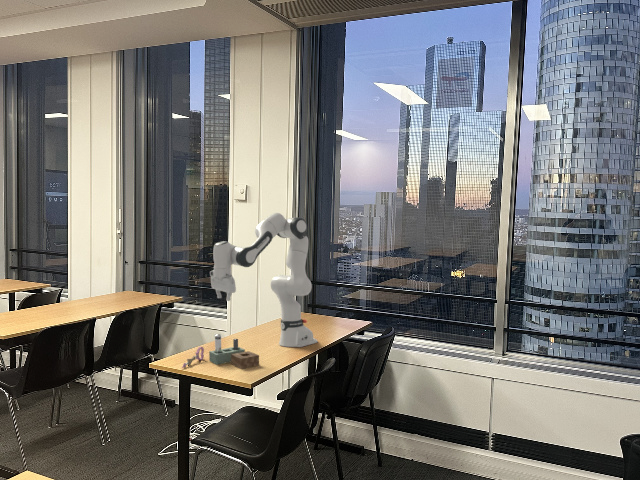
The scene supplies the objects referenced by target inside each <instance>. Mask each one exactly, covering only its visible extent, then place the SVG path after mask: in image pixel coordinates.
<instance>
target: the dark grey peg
mask: <svg viewBox="0 0 640 480" xmlns="http://www.w3.org/2000/svg"><path fill="white" fill-rule="evenodd" d="M232 340H233V342H232V343H233V346H232V347H233V350H238V347H239V339H238V338H233V339H232Z"/></svg>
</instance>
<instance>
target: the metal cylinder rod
mask: <svg viewBox="0 0 640 480" xmlns="http://www.w3.org/2000/svg"><path fill="white" fill-rule="evenodd" d="M221 349H222V334H221V333H215V334H214V351H215V353H216V354H217V353H221Z"/></svg>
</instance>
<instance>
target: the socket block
mask: <svg viewBox="0 0 640 480" xmlns="http://www.w3.org/2000/svg"><path fill="white" fill-rule="evenodd" d="M230 363H231V364H230V365H232V366H234V367H236V368H237V369H241V370H244V369H249V368H253V367H256V366H260V355H259V354H256V353H254V352H252V351H249V350H248V351H245V352H241V353H236V354H231V362H230Z"/></svg>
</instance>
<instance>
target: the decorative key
mask: <svg viewBox="0 0 640 480" xmlns="http://www.w3.org/2000/svg"><path fill="white" fill-rule="evenodd" d="M200 351H201V352H200ZM204 352H205V349H204V347H203V346H199V347H198V348H197V349H196V351H195V355H193V356H192V357H191V358H187V359H186V361H187V362H183V364H182V367H181V369H183V368H184V367H186V368H187V366H188V365H190V366H191V364H192V363H193V361H195V360H197V361H203V359H204V358H205V357H204Z"/></svg>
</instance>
